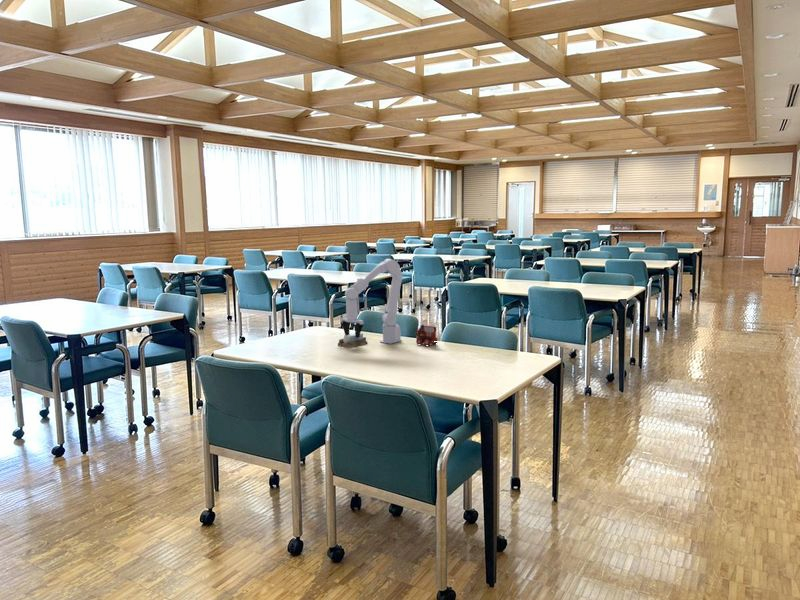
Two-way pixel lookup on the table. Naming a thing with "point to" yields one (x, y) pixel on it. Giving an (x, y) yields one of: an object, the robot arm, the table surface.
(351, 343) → the cradle
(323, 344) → the table surface
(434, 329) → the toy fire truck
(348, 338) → the dome-topped blue pillar
